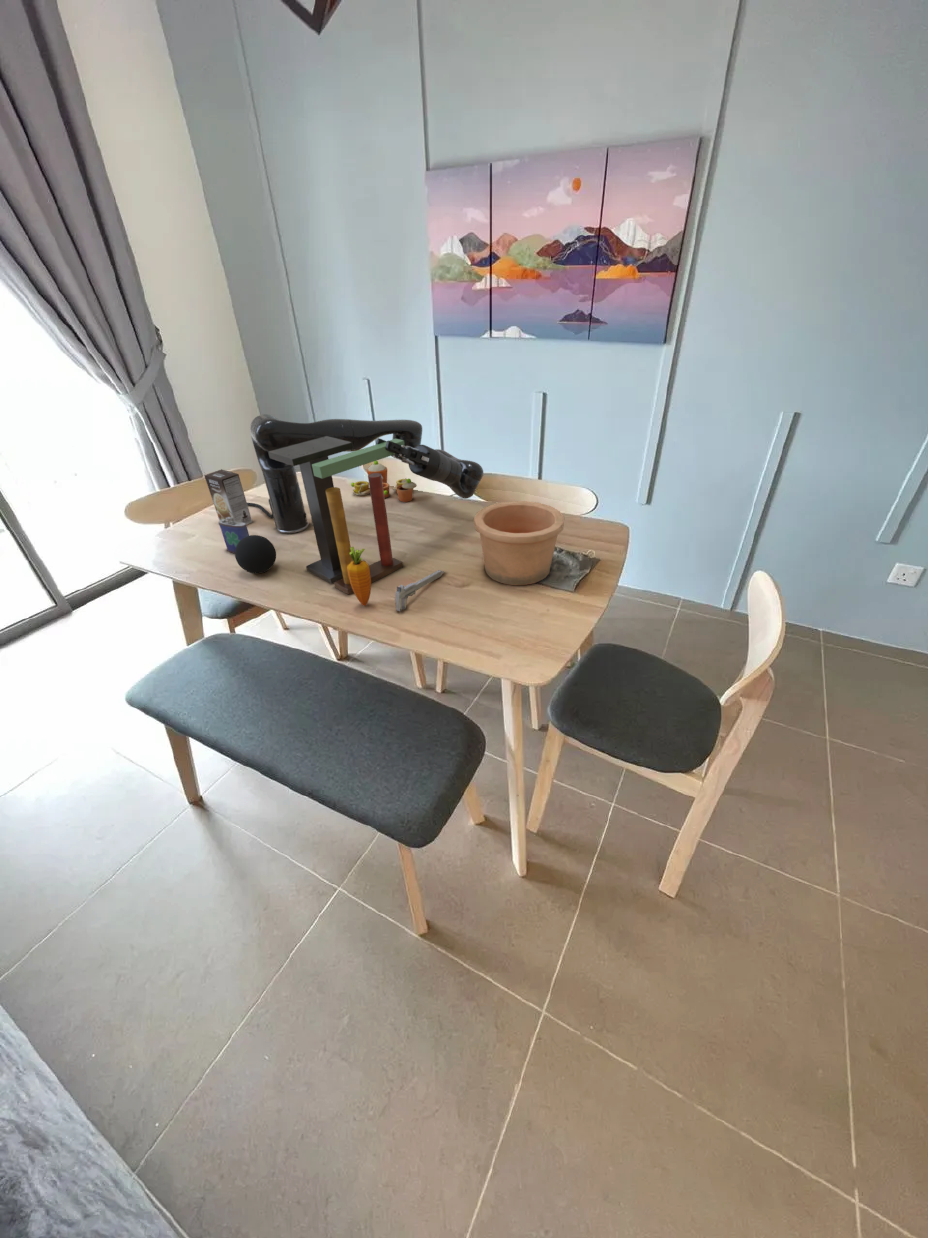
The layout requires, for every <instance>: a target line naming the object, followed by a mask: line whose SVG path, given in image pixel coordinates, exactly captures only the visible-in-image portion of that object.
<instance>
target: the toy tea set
mask: <svg viewBox="0 0 928 1238" xmlns="http://www.w3.org/2000/svg"><path fill="white" fill-rule="evenodd" d="M366 473H367V476H368V475H369V474H372V473H380V474H381V475H382V483H383V490H384V498H385V499H386V498H389V497H390V483H388V467H387V466H386V465H384V464H382V463H379V460H377V461H374V462H373V463H372V464H371V465H370V466H369V467H367V469H366ZM350 486H351V487H352V488H354V489H353V490H352V492H353V495H355V496H366V495H369V494H370V487H369V481H366V480H361V481H355V482H351V483H350ZM416 487H418V485H417V483H415V482H414V481H412V480H411V478H407V477H406V478H402V479H401V478H400V479H398V480H396V484H395V486H394V487H393V488H392V490H393V491H395V492H396V493H397V497H398V500H399V501H400V502H402V503H408V502H412V500H413V496H414V493H413V492H414V488H416Z"/></svg>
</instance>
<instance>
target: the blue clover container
mask: <svg viewBox="0 0 928 1238" xmlns="http://www.w3.org/2000/svg"><path fill="white" fill-rule="evenodd" d="M233 518H234V517H233V516H231V517H227V518H226V519H228V520H226V519H224V520H221V521H218V525H219V528H220V530H221V531H220V532H221V535H222V537H223V540H224V543H225V547H226V550H227V552H228V553H232V554H235V549H236V546H237V544H238V543H239V541H240V540H242V539H243V538H245V537H247V536H250V532H249V529H248V526H247V525H246V523H239V522H233V521H234V520H233Z"/></svg>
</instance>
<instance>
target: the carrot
mask: <svg viewBox="0 0 928 1238" xmlns="http://www.w3.org/2000/svg"><path fill="white" fill-rule="evenodd" d="M350 549H351V552H350V556H351V558H352V559H353V561H352V562H351V563H350V564H349V565H348V566H347V571H348V576H349V580H350V584H351V586H352V589H353V591H354V592H353V593H354V596H355V597H356V599H357V600H358V602H359V603H360V604H361V605H362V606H364V607H366V606H367V605H368V602H369V600H370V596H371V593H372V591H371V590H372V583H371V577H370V569H369V563H367V561H366V560H363V558H362V557H361V555H362V554H363V553H364V552H365V550H366V549H365V548H362V549H360V550H359V549H355V547H354V546H351V548H350Z"/></svg>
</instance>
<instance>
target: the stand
mask: <svg viewBox="0 0 928 1238" xmlns="http://www.w3.org/2000/svg"><path fill="white" fill-rule="evenodd" d="M350 449H353V446H352V442H348V441H344V440H340V439H336V438H332V437H329V436H325V437H322V438H318V439H314V440H310V441H307V442H303V443H299V444H295V445H291V446H288V447H284V448H280V449H276V450H273V451H269V452H268V453H269V457H270V458H271V459H274V460H277V461H280V462H283V463H286V464H289V465H292V466H295V467H296V466H299V470H300V475H301V479H302V484H303V487H304V493H305V497H306V501H307V505H308V509H309V514H310V518H311V523H312V527H313V532H314V536H315V540H316V544H317V550H318V554H319V557H320V559H318V560H317V561H314V562H312V563H310V564H307V565H306V566H305V567H306V571H307V572H309V573H311V574H312V575H314V576H316V577H318V578H320V579H322V580H324V581H326V582H327V583H328V584H331V585H333V584H334V582H336V581H338V580H341V579H343V574H342V569H341V565H340V560H339V555H338V550H337V545H336V540H335V535H334V530H333V525H332V520H331V515H330V510H329V506H328V501H327V496H326V489H328V488H332V487H335V485H334V480H333V475H332V476H329V477H326V478H323V479H322V478H319V477H316V476H314V473H313V468H312V464H315V463H318V462H321V461H325V460H328V459H329V457H330V456H333V455H337V454H340V453H345V452H344V451H347V450H350Z"/></svg>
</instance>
